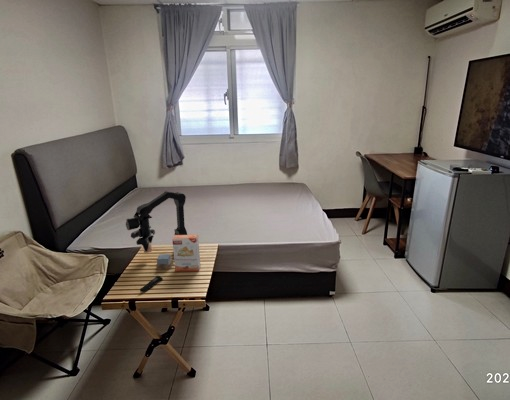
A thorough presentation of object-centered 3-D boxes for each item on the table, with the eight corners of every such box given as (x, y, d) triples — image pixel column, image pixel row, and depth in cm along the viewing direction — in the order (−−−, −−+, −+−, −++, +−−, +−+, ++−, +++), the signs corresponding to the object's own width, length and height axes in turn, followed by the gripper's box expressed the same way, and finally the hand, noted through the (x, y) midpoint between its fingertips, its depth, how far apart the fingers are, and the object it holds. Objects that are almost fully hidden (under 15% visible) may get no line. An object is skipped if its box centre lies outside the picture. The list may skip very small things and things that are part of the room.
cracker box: (175, 271, 183) (171, 238, 177) (177, 267, 188) (174, 234, 183) (199, 271, 182) (196, 237, 177) (200, 266, 188) (198, 234, 183)
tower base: (173, 263, 194) (172, 258, 193) (170, 269, 186) (169, 264, 185) (160, 264, 194) (159, 259, 193) (156, 270, 186) (156, 265, 185)
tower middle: (170, 259, 192) (170, 253, 191) (168, 264, 186) (167, 258, 185) (160, 259, 192) (159, 254, 191) (157, 264, 186) (156, 259, 185)
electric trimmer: (138, 293, 162) (137, 288, 161) (157, 278, 176) (157, 273, 175) (144, 294, 161) (143, 289, 160) (163, 280, 174) (162, 274, 174)
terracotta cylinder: (153, 249, 199) (152, 242, 198) (150, 252, 194) (149, 245, 193) (145, 249, 199) (144, 242, 197) (142, 252, 194) (141, 245, 193)
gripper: (136, 221, 201) (139, 244, 205) (126, 232, 183) (129, 256, 187) (153, 221, 201) (156, 243, 205) (145, 231, 183) (148, 255, 187)
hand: (147, 249), depth 196 cm, fingers closed on terracotta cylinder, 5 cm apart
